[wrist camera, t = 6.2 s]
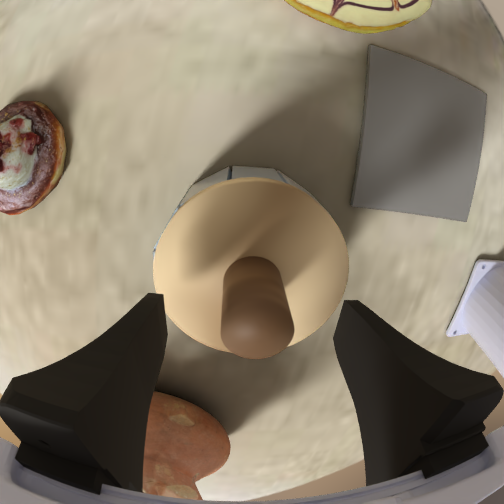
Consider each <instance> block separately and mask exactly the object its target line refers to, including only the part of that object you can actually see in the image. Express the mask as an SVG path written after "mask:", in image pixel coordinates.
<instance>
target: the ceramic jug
mask: <svg viewBox="0 0 504 504" xmlns="http://www.w3.org/2000/svg"><path fill="white" fill-rule="evenodd" d="M229 454H230V441H229V438H228V435H227V433H226V431H225V429H224V428H223V426H222V425H221V424H220V423H219V422H218V421H217V420H216V419H215V418H214V417H213V416H212V415H210V414H209V413H208V412H206V411H205V410H203V409H202V408H200V407H198V406H196V405H194V404H192V403H190V402H188V401H185V400H183V399H180V398H178V397H175V396H172V395H169V394H164V393H161V392H156V391H154V392H153V396H152V400H151V404H150V409H149V415H148V422H147V430H146V439H145V449H144V463H143V493H147V494H152V495H159V496H166V497H173V498H182V499H193V500H202V497H201V495H200V493H199V491H198V489H197V487H196V485H195V482H196V481H198V480H200V479H201V478H203V477H206V476H208V475H210V474H212V473H214V472H216V471H217V470H219V469H220V468H221V467H222V466H223V465H224V464H225V462H226V461H227V459H228V457H229Z"/></svg>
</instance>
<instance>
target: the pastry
mask: <svg viewBox="0 0 504 504" xmlns="http://www.w3.org/2000/svg"><path fill="white" fill-rule="evenodd" d="M66 152H67V147H66V141H65V135H64V129H63V127H62V125H61V124H60V122H59V121H58V120H57V119H56V117H55V116H54V115H53V113H52V112H51V111H50V109H49V108H48V107H47V106H46V105H44V104H43V103H41V102H39V101H21V102H17V103H13V104H9V105H7V106H6V107H5V108H3V109H2V110H1V111H0V212H3V213H6V214H9V215H16V214H21V213H23V212H25V211H27V210H29V209H31V208H34V207H35V206H37V205H38V204H39V203H40V202H41V201H43V200H44V199H45V197H46V196H47V195H48V194H49V193H50V192H51V191H52V190H53V189H54V188H55V187H56V186H57V185H58V182H59V180H60V178H61V176H62V174H63V171H64V164H65V158H66Z"/></svg>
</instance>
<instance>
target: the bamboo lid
mask: <svg viewBox="0 0 504 504" xmlns="http://www.w3.org/2000/svg"><path fill="white" fill-rule="evenodd" d="M348 273H349V257H348V251H347V246H346V243H345V240H344V237H343V235H342V233H341V231H340V229H339V227H338V225H337V224H336V223H335V221H334V220H333V218H332V217H331V216H330V215H329V213H328V212H327V211H326V210H325V209H324V208H323V207H322V206H321V205H320V204H319V203H318V202H317V201H316V200H315V199H314V198H312V197H311V196H310V195H308V194H307V193H306V192H304V191H302V190H300V189H298V188H297V187H295V186H292V185H290V184H287V183H284V182H282V181H278V180H273V179H269V178H259V177H246V178H236V179H231V180H226V181H223V182H220V183H217V184H214V185H212V186H210V187H208V188H206V189H204V190H202V191H200V192H198V193H197V194H195V195H194V196H193V197H191V198H190V199H189V200H187V201H186V202H185V203H184V204H183V205H182V206H181V207H180V208H179V209H178V210H177V212H176V213H175V214H174V215H173V217H172V218H171V220H170V221H169V223H168V225H167V226H166V228H165V230H164V232H163V233H162V235H161V237H160V240H159V242H158V245H157V247H156V251H155V256H154V263H153V277H154V284H155V289H156V293H157V294H163V295H164V305H165V312H166V313H167V315H168V316H169V317H170V319H171V320H172V321H173V322H174V323H175V324H176V325H177V326H178V327H179V328H180V329H181V330H182V331H183V332H185V333H186V334H187V335H188V336H190V337H192V338H193V339H195V340H196V341H198V342H200V343H202V344H204V345H206V346H209V347H212V348H215V349H217V350H221V351H226V352H231V353H234V354H235V355H238V356H240V357H243V358H248V359H263V358H267V357H271V356H274V355H276V354H278V353H280V352H281V351H283V350H284V349H285V348H286V347H288V346H291V345H293V344H295V343H297V342H299V341H301V340H303V339H305V338H306V337H308V336H309V335H311V334H312V333H314V332H315V331H316V330H317V329H319V328H320V327H321V326H322V325H323V324H324V323H325V322H326V321H327V320H328V319H329V317H330V316H331V315H332V313H333V312H334V311H335V309H336V308H337V306H338V304H339V303H340V301H341V298H342V296H343V294H344V291H345V288H346V284H347V281H348Z"/></svg>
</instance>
